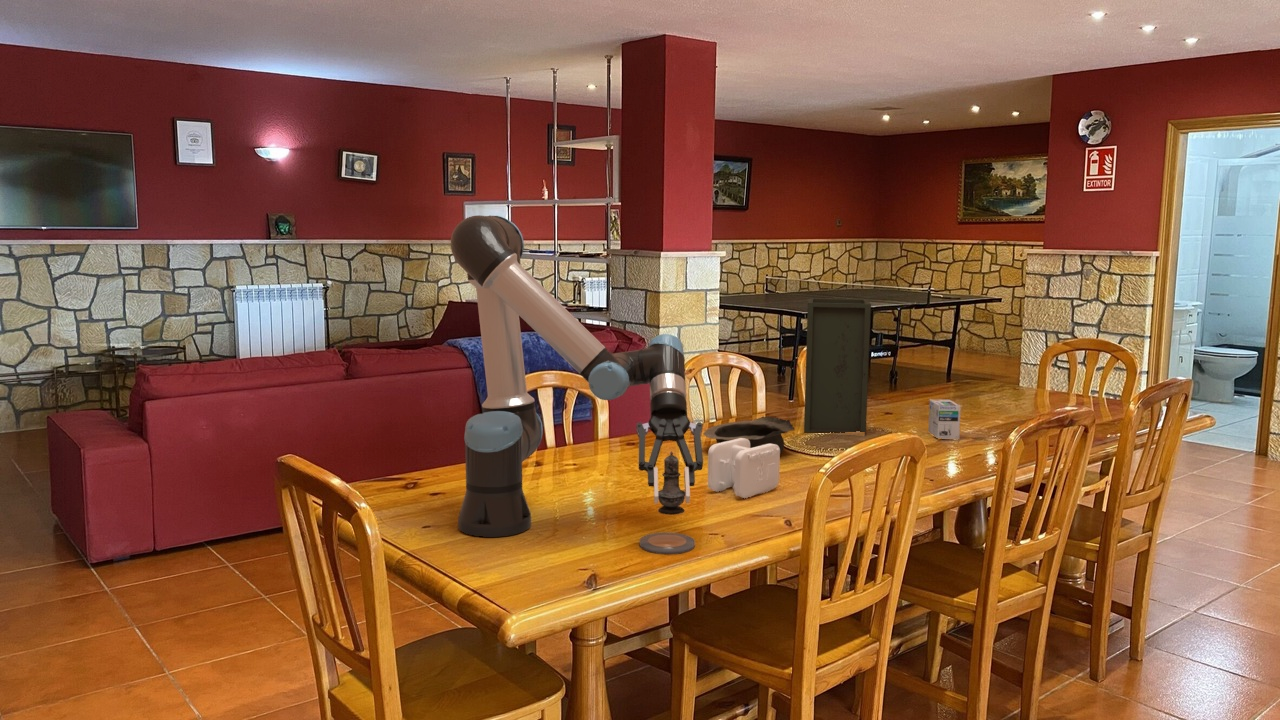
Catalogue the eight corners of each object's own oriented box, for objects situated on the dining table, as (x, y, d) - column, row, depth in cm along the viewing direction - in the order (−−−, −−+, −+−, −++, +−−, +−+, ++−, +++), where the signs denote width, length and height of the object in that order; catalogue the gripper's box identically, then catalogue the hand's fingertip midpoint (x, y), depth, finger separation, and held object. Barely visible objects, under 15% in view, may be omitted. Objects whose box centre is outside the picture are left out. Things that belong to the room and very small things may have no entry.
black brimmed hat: (811, 454, 269) (811, 421, 267) (742, 473, 255) (741, 439, 254) (753, 436, 289) (752, 406, 287) (686, 453, 276) (684, 422, 274)
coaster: (629, 541, 195) (629, 537, 194) (675, 533, 200) (675, 528, 200) (658, 557, 185) (658, 553, 185) (705, 548, 191) (705, 544, 191)
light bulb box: (959, 441, 288) (961, 405, 286) (937, 440, 288) (938, 405, 287) (949, 433, 299) (950, 398, 297) (927, 433, 299) (928, 398, 297)
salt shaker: (652, 513, 190) (652, 453, 188) (661, 505, 195) (662, 446, 194) (681, 516, 188) (681, 455, 186) (689, 508, 193) (690, 449, 192)
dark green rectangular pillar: (804, 421, 314) (808, 298, 309) (862, 424, 311) (867, 299, 306) (803, 433, 296) (807, 302, 291) (865, 436, 293) (870, 304, 288)
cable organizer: (746, 481, 241) (747, 435, 239) (781, 490, 233) (782, 442, 232) (706, 493, 230) (707, 445, 229) (741, 502, 223) (742, 452, 221)
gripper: (711, 410, 205) (718, 508, 191) (624, 411, 204) (624, 509, 190) (713, 389, 199) (721, 489, 185) (623, 390, 198) (624, 490, 184)
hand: (672, 499), depth 188 cm, fingers closed on salt shaker, 5 cm apart
